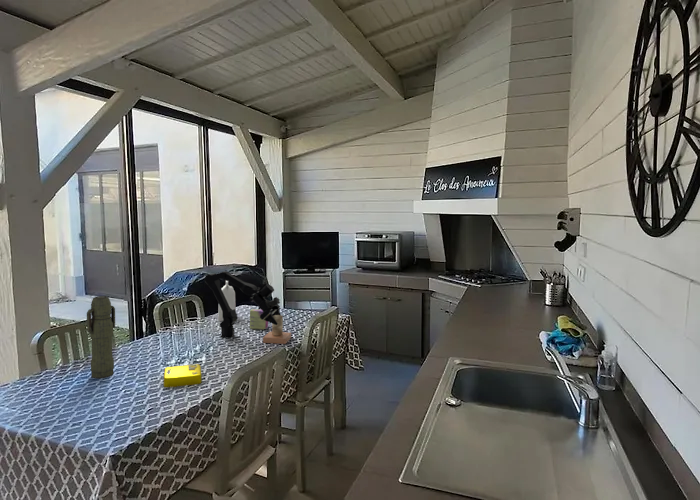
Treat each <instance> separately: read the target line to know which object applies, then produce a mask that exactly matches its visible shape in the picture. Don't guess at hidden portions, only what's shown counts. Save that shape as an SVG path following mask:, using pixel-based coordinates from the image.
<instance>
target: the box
mask: <svg viewBox="0 0 700 500" xmlns="http://www.w3.org/2000/svg"><path fill="white" fill-rule="evenodd" d="M262 313H263V311H262V310H261V309H259V308H256V309H255V308H252V309H251V310H249V329H251V330H264V329H266V328H267V327H268V328H269V322H268V321H265V320H264V319H265V318H264V319H263V320H262V319H261V318H260V315H261V314H262ZM268 328H267V329H268ZM267 329H266V330H267Z"/></svg>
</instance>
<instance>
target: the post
mask: <svg viewBox="0 0 700 500" xmlns="http://www.w3.org/2000/svg"><path fill="white" fill-rule="evenodd" d="M273 317H274V319H275V320H276V322H277V323H278V324H277V325H275V324H273V323H271V324H272V325H271V332H272V336H282V335H283V332H284V331H283V330H284V329H283V327H284V324H283V321H284V318H283V317H284V316H283V315H282V314H281V315H274V316H273Z"/></svg>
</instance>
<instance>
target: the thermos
mask: <svg viewBox="0 0 700 500" xmlns="http://www.w3.org/2000/svg"><path fill="white" fill-rule="evenodd" d="M115 328H116V308H115V306H114V305H112V302H111V299H110V297H109V296H107V295H99V296H98V295H97V296H94V297H93V298H92V299H91V303H90V308H89V309H88V310H87V312H86V332H87V333H89V338H90V339H91V360H90V372H91V375H90V376H91V378H92V379H98V380H99V379H100V380H101V379H106V378H110V377H112V376H113V375H114V374H115V373H114V372H115V371H114V369H115V364H114V363H115V360H114V356H113V336H114V329H115Z"/></svg>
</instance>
